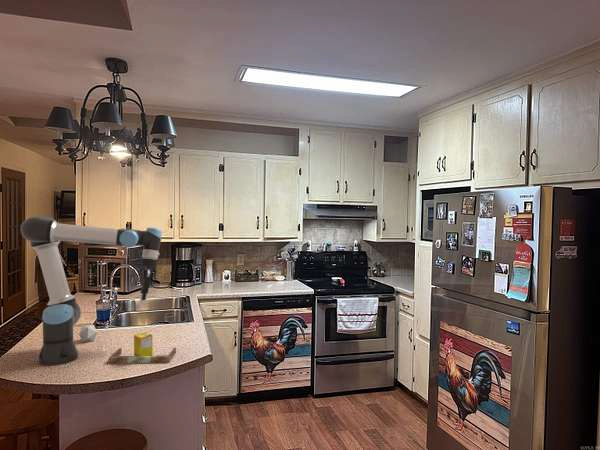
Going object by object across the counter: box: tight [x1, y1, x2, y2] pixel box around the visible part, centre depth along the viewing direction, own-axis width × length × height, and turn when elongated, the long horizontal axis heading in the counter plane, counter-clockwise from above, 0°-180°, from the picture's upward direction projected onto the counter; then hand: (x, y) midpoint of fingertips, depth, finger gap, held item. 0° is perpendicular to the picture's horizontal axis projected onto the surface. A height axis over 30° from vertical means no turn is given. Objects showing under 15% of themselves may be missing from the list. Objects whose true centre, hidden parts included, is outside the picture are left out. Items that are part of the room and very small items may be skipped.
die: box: [78, 324, 98, 343], centre depth 209 cm, size 8×9×10 cm
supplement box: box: [133, 332, 154, 357], centre depth 184 cm, size 6×6×11 cm
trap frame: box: [107, 347, 177, 364], centre depth 185 cm, size 26×12×2 cm, turn 94°
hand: (142, 306), depth 200 cm, fingers closed
